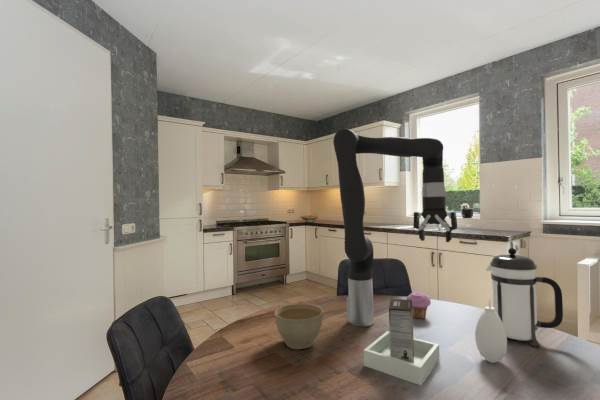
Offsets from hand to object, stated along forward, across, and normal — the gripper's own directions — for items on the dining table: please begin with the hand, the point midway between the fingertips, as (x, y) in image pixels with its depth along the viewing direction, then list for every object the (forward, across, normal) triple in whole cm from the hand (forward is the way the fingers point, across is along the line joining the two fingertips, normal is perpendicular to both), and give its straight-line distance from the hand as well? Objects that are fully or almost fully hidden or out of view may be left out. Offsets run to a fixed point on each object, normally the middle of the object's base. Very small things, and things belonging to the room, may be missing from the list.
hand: (435, 241), depth 110 cm
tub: (+32, -2, -28) cm, 43 cm away
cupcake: (+32, -10, +10) cm, 35 cm away
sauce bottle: (+32, +18, -12) cm, 39 cm away
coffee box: (+31, -2, -28) cm, 42 cm away
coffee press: (+32, +23, +10) cm, 41 cm away
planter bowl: (+32, -34, -36) cm, 59 cm away
